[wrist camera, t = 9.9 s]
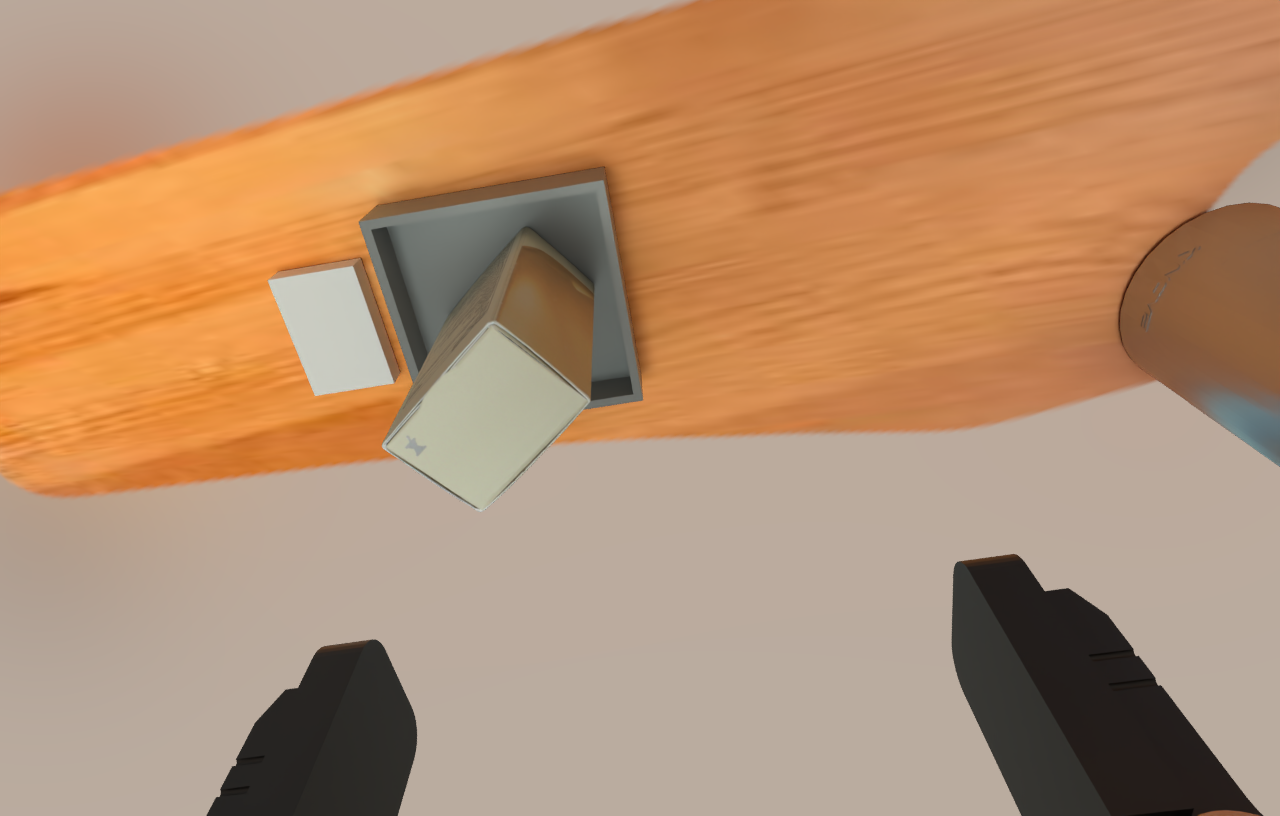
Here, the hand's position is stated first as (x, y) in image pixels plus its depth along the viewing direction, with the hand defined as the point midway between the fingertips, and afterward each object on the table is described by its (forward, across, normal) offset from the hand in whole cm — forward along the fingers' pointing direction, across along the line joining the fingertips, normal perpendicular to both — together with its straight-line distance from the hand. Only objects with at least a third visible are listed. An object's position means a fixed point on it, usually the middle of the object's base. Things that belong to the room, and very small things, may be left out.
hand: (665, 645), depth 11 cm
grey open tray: (+27, +10, +3) cm, 29 cm away
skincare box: (+26, +6, +3) cm, 27 cm away
